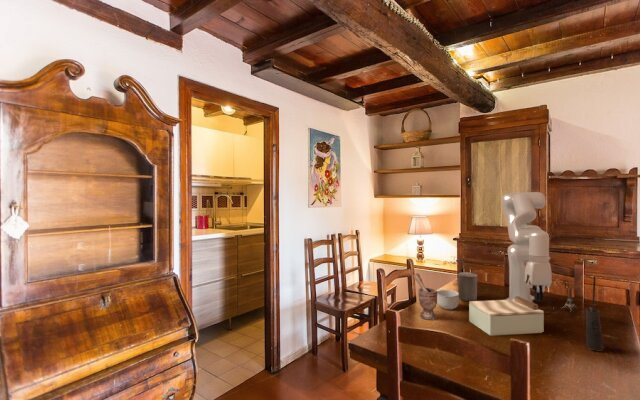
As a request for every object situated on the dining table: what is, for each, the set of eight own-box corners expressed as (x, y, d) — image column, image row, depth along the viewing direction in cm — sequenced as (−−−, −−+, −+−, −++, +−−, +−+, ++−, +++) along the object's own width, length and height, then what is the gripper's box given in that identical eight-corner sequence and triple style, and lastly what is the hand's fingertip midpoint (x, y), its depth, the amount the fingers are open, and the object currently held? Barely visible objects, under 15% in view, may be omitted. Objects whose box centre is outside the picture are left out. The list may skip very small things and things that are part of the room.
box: (517, 318, 158) (517, 301, 158) (543, 332, 142) (543, 313, 142) (469, 320, 156) (469, 303, 155) (490, 335, 140) (490, 316, 139)
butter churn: (577, 340, 135) (578, 270, 134) (609, 347, 129) (610, 274, 128) (577, 348, 128) (577, 275, 127) (610, 356, 122) (611, 279, 121)
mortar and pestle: (410, 317, 161) (410, 275, 160) (415, 311, 168) (414, 271, 168) (435, 321, 155) (435, 278, 154) (439, 315, 162) (439, 274, 162)
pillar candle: (459, 300, 185) (459, 273, 185) (457, 295, 194) (457, 269, 194) (478, 302, 182) (478, 274, 182) (475, 296, 191) (475, 270, 191)
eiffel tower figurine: (586, 309, 171) (586, 283, 171) (591, 315, 162) (591, 288, 162) (551, 304, 178) (551, 279, 178) (553, 310, 170) (553, 284, 169)
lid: (517, 301, 158) (517, 295, 158) (543, 313, 142) (543, 306, 142) (469, 303, 155) (469, 297, 155) (490, 315, 139) (490, 309, 139)
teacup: (462, 311, 168) (462, 295, 168) (440, 311, 168) (440, 295, 168) (451, 302, 182) (451, 287, 182) (431, 302, 182) (431, 287, 182)
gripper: (547, 257, 154) (547, 297, 154) (517, 258, 153) (517, 298, 153) (560, 260, 147) (560, 302, 147) (529, 261, 145) (529, 303, 145)
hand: (538, 300), depth 150 cm, fingers closed
